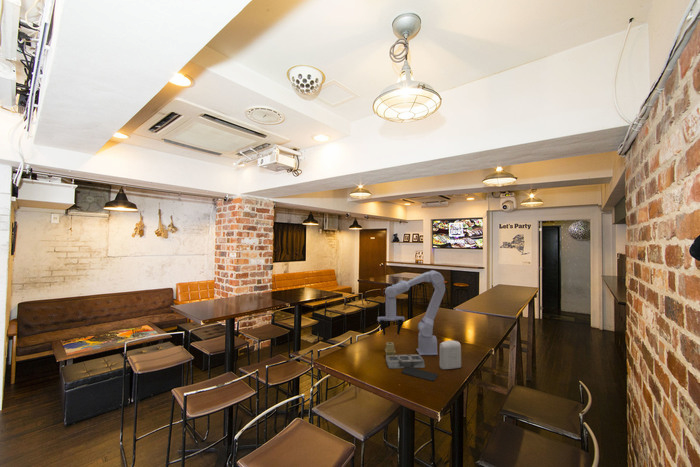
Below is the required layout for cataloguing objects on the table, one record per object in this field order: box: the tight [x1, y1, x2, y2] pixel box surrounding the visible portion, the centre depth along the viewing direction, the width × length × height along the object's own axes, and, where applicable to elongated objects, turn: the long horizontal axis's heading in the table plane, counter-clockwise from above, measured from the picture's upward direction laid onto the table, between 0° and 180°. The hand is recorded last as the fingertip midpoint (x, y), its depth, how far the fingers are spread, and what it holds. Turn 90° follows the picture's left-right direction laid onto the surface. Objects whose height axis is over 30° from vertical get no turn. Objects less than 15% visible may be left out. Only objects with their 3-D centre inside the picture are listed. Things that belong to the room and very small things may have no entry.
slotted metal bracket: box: [385, 353, 425, 369], centre depth 136 cm, size 17×8×3 cm, turn 92°
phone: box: [401, 367, 439, 382], centre depth 126 cm, size 7×1×15 cm
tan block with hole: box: [384, 341, 397, 356], centre depth 144 cm, size 5×5×7 cm
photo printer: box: [438, 340, 462, 370], centre depth 132 cm, size 10×4×12 cm, turn 103°
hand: (391, 334), depth 152 cm, fingers open, 7 cm apart
